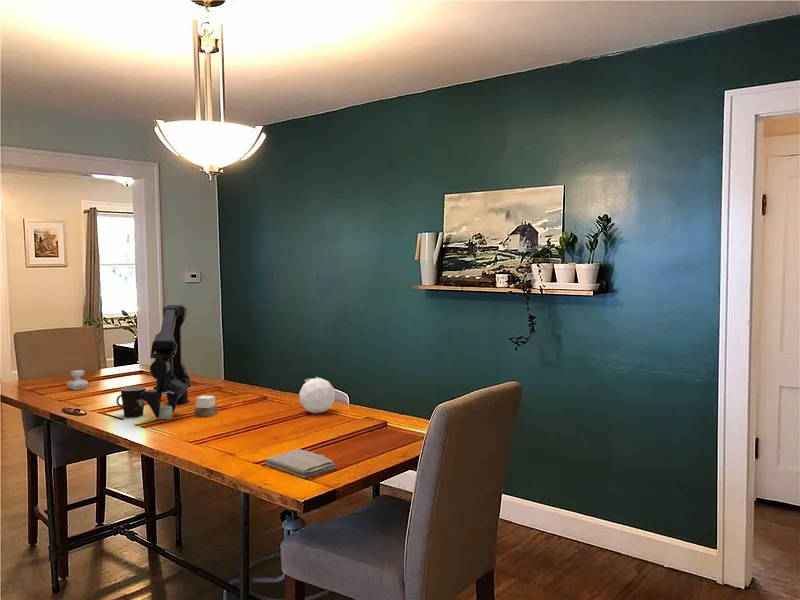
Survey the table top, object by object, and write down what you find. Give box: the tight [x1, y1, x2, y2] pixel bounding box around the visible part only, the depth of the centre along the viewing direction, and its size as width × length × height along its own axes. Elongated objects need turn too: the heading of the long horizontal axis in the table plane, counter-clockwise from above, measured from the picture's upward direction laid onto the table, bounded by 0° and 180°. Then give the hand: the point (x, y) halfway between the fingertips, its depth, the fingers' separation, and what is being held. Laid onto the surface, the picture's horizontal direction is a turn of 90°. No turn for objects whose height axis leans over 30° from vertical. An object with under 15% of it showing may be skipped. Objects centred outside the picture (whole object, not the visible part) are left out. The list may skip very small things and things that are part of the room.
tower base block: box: [194, 404, 218, 418], centre depth 236 cm, size 6×6×4 cm
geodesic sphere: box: [299, 376, 336, 414], centre depth 241 cm, size 14×14×14 cm
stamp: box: [66, 369, 89, 391], centre depth 282 cm, size 9×7×8 cm
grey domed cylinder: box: [157, 405, 173, 420], centre depth 231 cm, size 5×5×4 cm
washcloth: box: [264, 448, 337, 479], centre depth 176 cm, size 12×18×3 cm, turn 50°
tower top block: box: [195, 395, 216, 408], centre depth 235 cm, size 5×5×4 cm
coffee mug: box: [116, 386, 147, 418], centre depth 233 cm, size 12×9×10 cm
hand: (165, 414), depth 231 cm, fingers open, 8 cm apart
